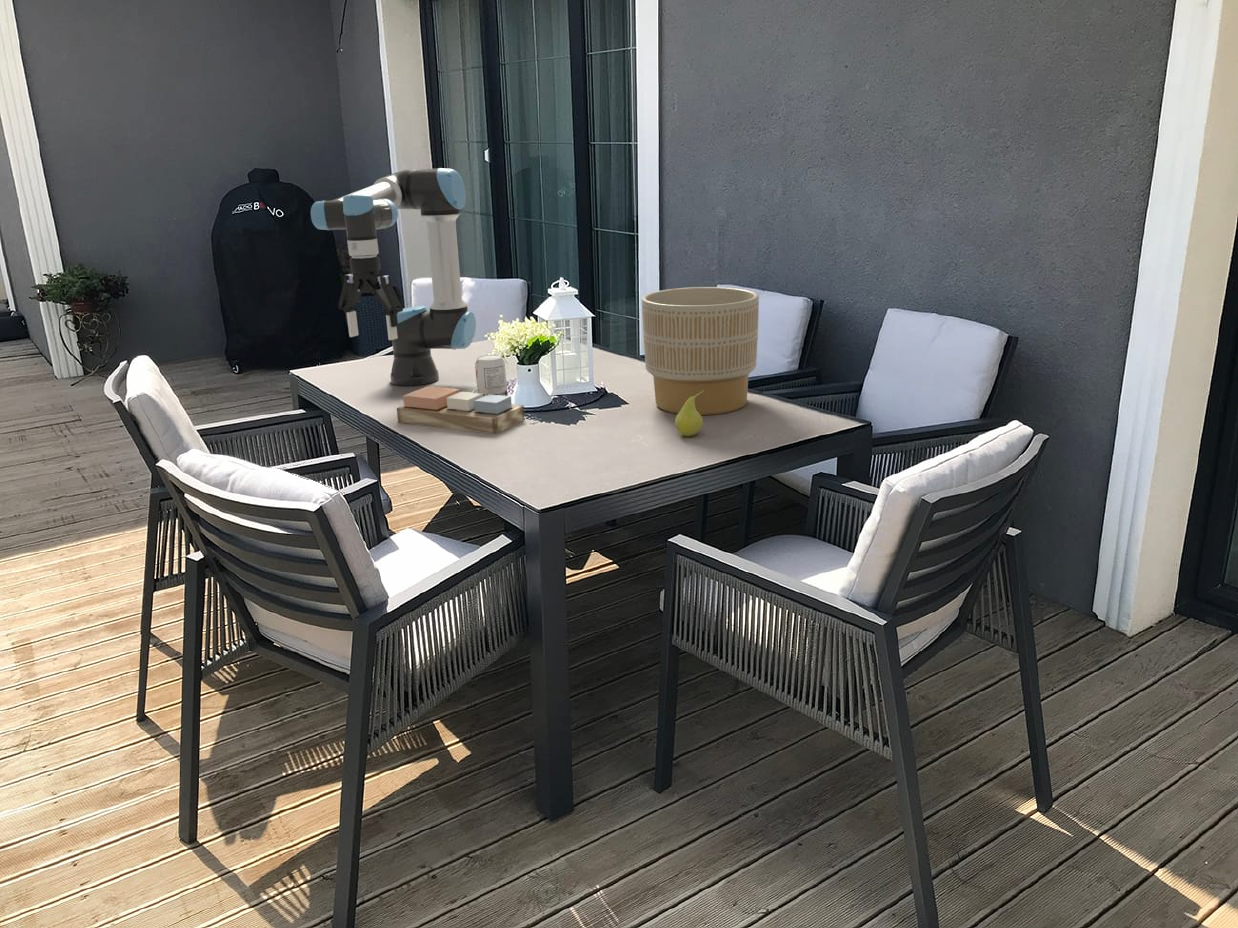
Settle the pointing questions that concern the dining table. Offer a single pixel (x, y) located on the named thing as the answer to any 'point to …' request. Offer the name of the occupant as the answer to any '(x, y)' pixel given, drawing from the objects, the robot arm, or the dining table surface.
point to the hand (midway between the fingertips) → (373, 337)
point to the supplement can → (491, 375)
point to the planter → (701, 346)
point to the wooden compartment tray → (462, 418)
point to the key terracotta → (429, 398)
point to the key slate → (493, 404)
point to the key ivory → (463, 401)
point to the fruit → (689, 418)
